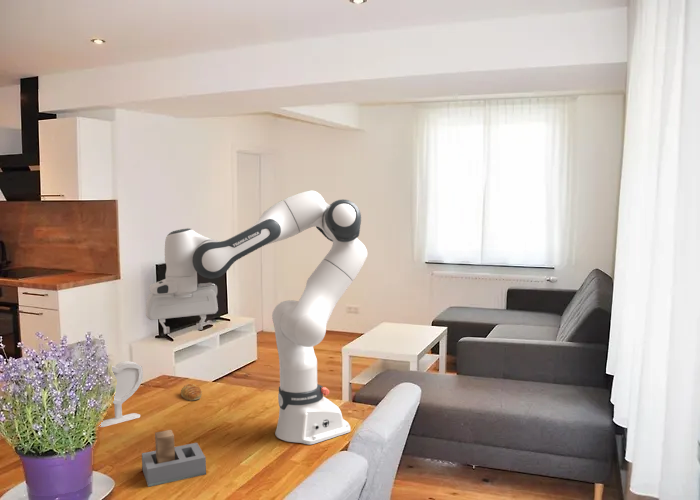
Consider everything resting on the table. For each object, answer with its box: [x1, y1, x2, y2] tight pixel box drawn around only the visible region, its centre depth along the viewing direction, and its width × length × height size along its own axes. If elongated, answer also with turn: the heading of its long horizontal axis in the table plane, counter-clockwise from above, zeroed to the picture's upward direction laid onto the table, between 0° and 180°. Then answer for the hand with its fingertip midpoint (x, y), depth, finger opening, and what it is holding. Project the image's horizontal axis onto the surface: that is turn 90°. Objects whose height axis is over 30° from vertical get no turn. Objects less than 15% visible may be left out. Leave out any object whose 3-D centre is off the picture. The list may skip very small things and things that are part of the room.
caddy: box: [141, 442, 207, 488], centre depth 154 cm, size 14×10×4 cm
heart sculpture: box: [98, 360, 144, 428], centre depth 188 cm, size 16×5×18 cm, turn 131°
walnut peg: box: [154, 429, 176, 464], centre depth 152 cm, size 4×4×10 cm
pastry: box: [180, 383, 203, 402], centre depth 209 cm, size 9×7×4 cm
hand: (183, 331), depth 175 cm, fingers open, 8 cm apart
